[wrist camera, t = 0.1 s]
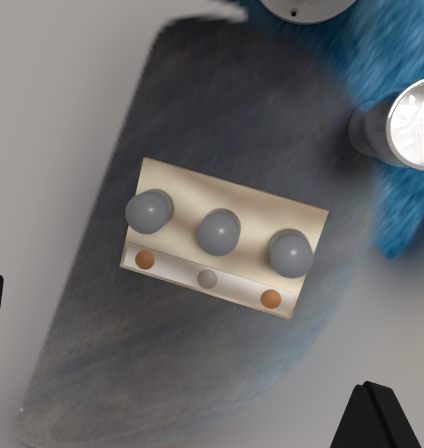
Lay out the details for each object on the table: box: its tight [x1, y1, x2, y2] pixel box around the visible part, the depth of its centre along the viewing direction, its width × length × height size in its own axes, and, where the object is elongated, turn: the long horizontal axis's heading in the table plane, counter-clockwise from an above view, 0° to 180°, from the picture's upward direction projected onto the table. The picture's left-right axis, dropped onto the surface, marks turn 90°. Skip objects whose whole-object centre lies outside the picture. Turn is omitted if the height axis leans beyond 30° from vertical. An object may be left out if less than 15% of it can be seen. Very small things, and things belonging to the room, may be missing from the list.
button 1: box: [125, 189, 174, 234], centre depth 43 cm, size 4×4×4 cm
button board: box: [120, 157, 329, 320], centre depth 46 cm, size 14×22×2 cm, turn 75°
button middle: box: [197, 208, 241, 256], centre depth 42 cm, size 4×4×4 cm
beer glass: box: [348, 78, 424, 171], centre depth 35 cm, size 7×7×15 cm
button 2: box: [270, 229, 314, 279], centre depth 42 cm, size 4×4×4 cm
